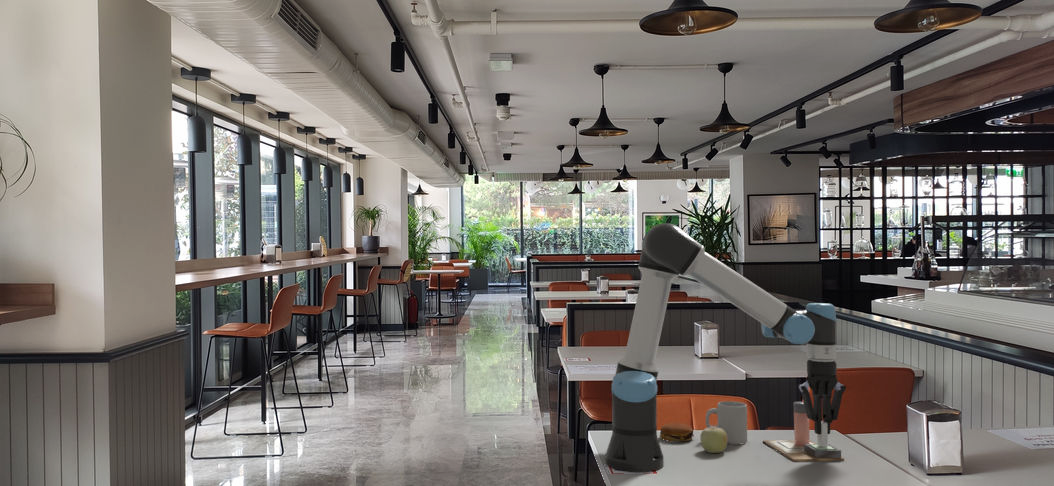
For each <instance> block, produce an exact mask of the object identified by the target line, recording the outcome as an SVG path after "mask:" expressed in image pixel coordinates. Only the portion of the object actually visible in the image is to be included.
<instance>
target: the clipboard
mask: <svg viewBox="0 0 1054 486" xmlns="http://www.w3.org/2000/svg"><path fill="white" fill-rule="evenodd" d="M763 442H765V443H766V444H767V445H766V444H765V443H764V444H765V445H766V446H768V445H769V446H770V448H771V447H772V448H771V449H773V448H774V449H775V450H774V449H773V450H774V451H776V450H777V451H778V453H779V452H780V453H779V454H781V455H783V456H784V457H786V458H787V459H789V460H791V461H792V462H796V463H797V462H834V461H835V462H836V461H837V460H844V461H845V458H844V457H843V456H842V450H841V449H839V448H837V447H836V446H833V445H832V444H830V443H828V446H830V447H832V448H834V449H835V450H817V449H815V448H813V447H811V446H810V445H818V443H816V442H814V441H812V440H810V444H804V447H800V446H796V445H795V439H780V440H779V439H775V440H770V439H769V440H768V439H767V440H762V443H763ZM769 446H768V447H769ZM777 451H776V452H777ZM837 462H838V461H837Z"/></svg>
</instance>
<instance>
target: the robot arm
mask: <svg viewBox="0 0 1054 486" xmlns="http://www.w3.org/2000/svg"><path fill="white" fill-rule="evenodd" d="M637 268H638V269H639V271H640V272H641V278H640V283H639V289H638V293H637V297H636V302H635V307H634V312H633V315H632V316H633V317H632V321H631V324H630V330H629V335H628V340H627V344H626V349H625V354H624V356H623V357H622V358H620V359H618V361H617V365H616V369H615V374H614V376H613V377H612V383H611V396H612V397H611V400H612V401H611V407H612V408H611V411H612V412H611V413H612V414H611V416H612V417H611V418H612V420H611V421H612V425H611V426H612V427H611V429H612V432H611V437H610V439H609V443H608V446H607V449H606V453H605V464H606V466H608V467H610V468H613V469H616V470H621V471H626V472H651V471H656V470H659V469H661V468H663V467H664V463H665V462H664V454H663V450H662V448H661V444H660V442H659V438H658V433H657V432H658V431H657V429H658V428H657V426H658V425H657V423H658V421H657V417H658V416H657V413H658V411H657V410H658V408H657V405H658V403H657V401H658V400H657V395H658V393H657V392H658V384H657V380H658V375H659V371H660V370H659V368H658V367H657V365H656V364H655V362H656V359H657V353H658V349H659V344H660V339H661V335H662V329H663V325H664V322H665V321H664V320H665V316H666V310H667V306H668V302H669V297H670V292H671V287H672V283H673V281H674V280H675V279H677V278H678V277H680V275H681V276H682V277H683V276H689V277H691V278H692V279H693V280H695V281H697V283H700V284H701V285H703V286H705V287H706V288H707V289H709V290H711V291H712V292H713V293H715V294H717V295H718V296H720V297H721V298H723V299H724V300H725V301H727V302H729V303H730V304H732V305H733V306H735V307H737V308H738V309H740V310H741V311H742V312H744V313H745V314H747V315H749V316H750V317H752V318H753V319H755V320H757V322H759V323H760V327H761V333H762V336H764V337H765V338H773V339H776V338H781V339H782V340H783V339H784V340H786V341H788V342H790V343H791V344H794V345H804V344H806V358H808V359H807V360H806V373H807V376H806V378H805V382H803V383H802V384H798V385H797V389H798V390H799V392H800V393H801V397H802V400H803V401H802V402H804V406H805V410H806V414H807V417H808V419H809V420H810V421H813V422H814V423H813V425H814V433H815V434H816V435H817V444H818V445H819V446H821V447H828V444H829V443H828V435H830V434H831V424H832V423H833V421H837V420H838V417H839V412H840V408H841V405H842V398H843V394H844V393H845V391H846V389H847V386H846V385H845V384H842V383H840V382H839V381H838V378H837V365H838V364H837V361H836V359H837V315H836V312H837V311H836V306H835V305H833V304H832V303H824V302H818V303H817V302H813V303H807V304H806V307H805V309H802V310H796V309H794V308H792V307H790V306H788V305H787V304H786V303H784V302H783V301H782V300H779V299H778V298H777V297H775V296H773V295H772V294H771V293H769V292H767V291H766V290H765V289H763V288H762V287H760V286H758V285H757V284H755V283H754V282H753V281H751V280H749V279H748V278H747V277H745V276H743V275H741V274H740V273H738V272H737V271H735V270H734V269H732V268H731V267H729V266H728V265H726V264H725V263H723V262H722V261H720V260H718V259H717V258H716V257H714V256H712V255H711V254H710V253H708V252H706V251H705V247H704V245H702V244H701V243H699V242H698V241H697V240H695V239H694V238H693V237H691V236H690V235H688V233H687V232H685V231H684V230H683V229H682V228H680V227H679V226H678V225H676V224H674V223H673V224H672V223H670V222H669V223H666V222H665V223H660V224H657V225H655V226H653V227H652V228H650V229H649V230H648V231H647V232H646V233H645V234H644V237H643V239H642V241H641V252H640V258H639V262H638V267H637ZM810 390H811V393H812V398H813V401H812V398H811V393H810V392H809V391H810ZM832 392H833V394H832Z"/></svg>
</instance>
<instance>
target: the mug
mask: <svg viewBox="0 0 1054 486" xmlns="http://www.w3.org/2000/svg"><path fill="white" fill-rule="evenodd" d="M716 407H717V408H716ZM716 407H713V408H710V409H708V410H707V411H706V415H705V425H706V428H709V427H713V425H711V424H710V417H711V415H714V414H715V415H716V416H717V425H714V427H717V428H721V429H723V430H724V431H725V432H726V434H727V439H728V441H727V443H730V444H729V445H740V444H739V443H745V442H747V443H748V406H747V404H746V403H744V402H739V401H729V400H727V401H719V402H718V403H717V406H716ZM745 444H746V443H745Z"/></svg>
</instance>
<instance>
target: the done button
mask: <svg viewBox="0 0 1054 486" xmlns="http://www.w3.org/2000/svg"><path fill="white" fill-rule="evenodd" d="M810 446H811V447H813V448H815V449H817V450H835V449H834V448H832V447H830V446H828V447H821V446H819V445H810Z"/></svg>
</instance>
